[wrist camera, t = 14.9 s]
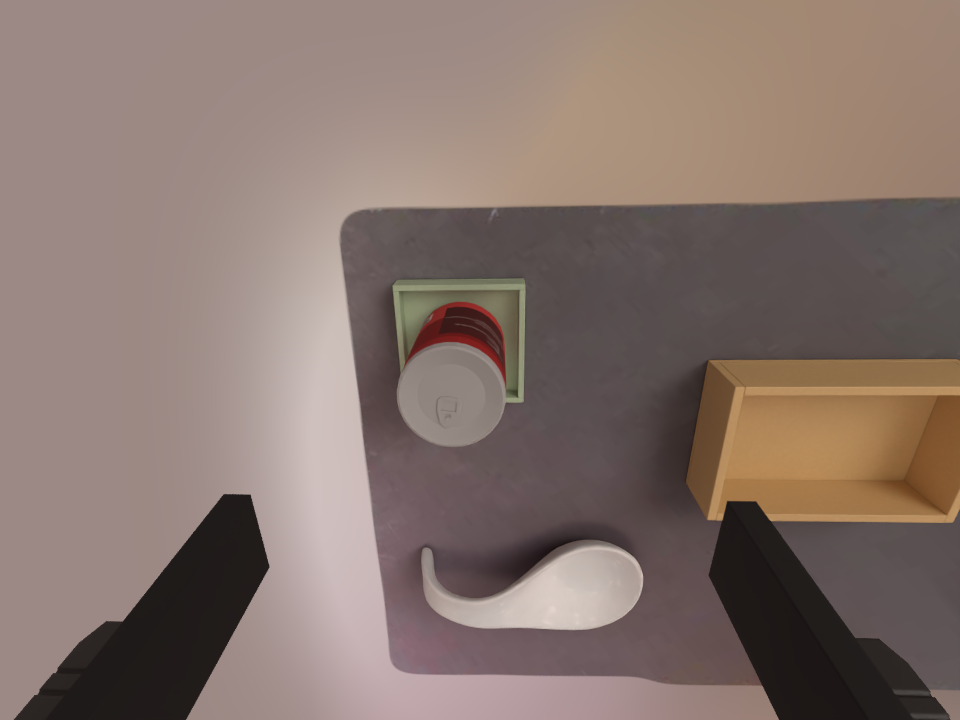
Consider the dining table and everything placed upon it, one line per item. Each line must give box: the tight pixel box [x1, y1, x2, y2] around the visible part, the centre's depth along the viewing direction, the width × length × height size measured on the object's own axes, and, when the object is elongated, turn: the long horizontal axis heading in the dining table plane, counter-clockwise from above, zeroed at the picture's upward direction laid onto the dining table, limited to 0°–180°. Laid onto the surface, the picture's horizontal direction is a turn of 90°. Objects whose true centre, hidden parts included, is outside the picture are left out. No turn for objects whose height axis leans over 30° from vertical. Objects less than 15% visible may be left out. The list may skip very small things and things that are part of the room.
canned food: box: [397, 302, 506, 447], centre depth 38 cm, size 8×8×11 cm
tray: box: [392, 278, 525, 402], centre depth 42 cm, size 11×11×2 cm
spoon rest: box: [421, 540, 643, 630], centre depth 50 cm, size 24×12×7 cm, turn 92°
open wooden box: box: [686, 359, 960, 523], centre depth 43 cm, size 22×14×6 cm, turn 91°
